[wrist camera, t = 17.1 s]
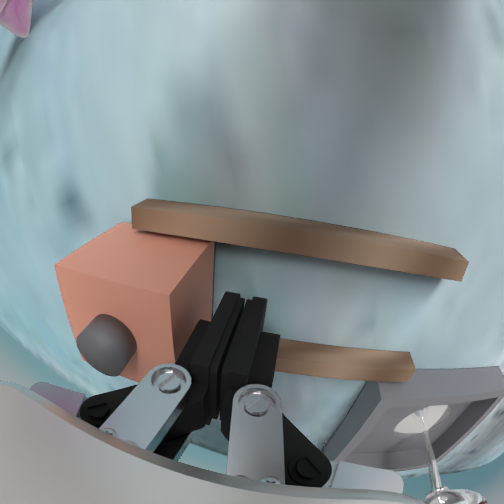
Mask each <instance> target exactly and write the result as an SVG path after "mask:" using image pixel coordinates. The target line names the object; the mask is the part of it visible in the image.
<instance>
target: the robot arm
mask: <svg viewBox="0 0 504 504" xmlns="http://www.w3.org/2000/svg"><path fill="white" fill-rule="evenodd" d="M244 303H245V299H244V298H240V294H237V293H232V292H225V294H224V296H223V298H222V300H221V302H220V304H219V306H218V308H217V310H216V312H215V314H214V316H213V318H212V320H211V321H207V320H202V319H200V320H199V321H198V323H197V325H196V326H195V328H194V330H193V332H192V334H191V335H190V337H189V339H188V341H187V342H186V344H185V346H184V348H183V350H182V351H181V353H180V355H179V357H178V359H177V361H176V362H175V364H161V365H158V366H156V367H154V368H153V369H152V370H150V371H149V373H148V374H147V375H146V376H145V377H144V378H143V379H142V380H141V382H140V383H139V384H137V385H134V386H130V387H126V388H123V389H119V390H115V391H111V392H107V393H103V394H99V395H95V396H92V397H89V398H88V397H86V396H85V394H82V393H79V392H75V391H71V390H68V389H65V388H61V387H58V386H55V385H52V384H49V383H45V382H39V383H36V384H34V385H33V386H32V387H31V388H30V389H28V388H26V387H24V386H21V385H19V384H15V383H12V382H8V381H1V380H0V504H425V503H423V502H422V501H420V500H418V499H415V498H413V497H411V496H407V495H404V494H402V493H403V480H402V478H401V476H400V475H399V474H398V473H396V472H394V471H391V470H386V469H380V468H374V467H368V466H363V465H358V464H353V463H348V462H344V461H339V462H334V461H330V460H328V458H327V457H326V456H325V455H324V454H323V453H322V452H321V451H320V450H319V449H318V448H317V447H316V446H314V445H313V444H312V443H311V442H310V441H309V440H308V439H307V438H306V437H305V436H304V435H303V434H302V433H301V432H300V431H299V430H298V429H297V428H296V427H295V426H294V425H293V424H292V423H291V422H290V421H289V420H288V419H287V418H286V417H285V416H284V414H283V413H282V403H281V399H280V396H279V395H278V394H277V392H276V391H274V390H273V389H272V382H273V377H274V371H275V365H276V359H277V353H278V347H279V341H280V335H278V334H272V333H266V332H262V330H263V324H264V318H265V312H266V305H267V299H265V298H259V297H253V299H252V300H250V299H247V301H246V304H245V307H244ZM219 412H220V420H221V432H222V433H223V435H224V436H225V437H226V439H227V440H228V441H229V448H228V459H227V470H226V475H225V474H221V473H217V472H213V471H209V470H205V469H201V468H198V467H194V466H190V465H187V464H184V463H181V462H178V460H179V459H180V457H181V456H182V454H183V452H184V451H185V449H186V448H187V446H188V444H189V443H190V441H191V440H192V438H193V436H194V435H195V432H196V430H198V429H200V428H203V427H204V426H205V424H207V425H210V422H211V419H212V418H214V419H217V418H218V415H219Z"/></svg>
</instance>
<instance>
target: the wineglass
mask: <svg viewBox="0 0 504 504" xmlns="http://www.w3.org/2000/svg"><path fill="white" fill-rule="evenodd" d="M450 412H451V409H450V407H449V406H448V405H437V406H428V407H426V408H423V409H420V410H418V411H416V412H414V413H412V414H410V415H409V416H407V417H406V418H404V419H403V420H402V421H401V422H400V423H399V424H398V425H397V426H396V427H395V429H394V435H395V436H397V437H399V438H414V437H418V436H421V435H424V441H425V447H426V453H427V460H428V467H429V475H430V484H431V491H430V492H429V493H427V496H426V499H425V500H424V501H423V503H425V504H488V502H487V501H486V500H485V498H484V497H483V496H482V495H481V494H479V493H476V492H473V491H470V490H467V489H458V490H448V487H446V486H443V487H442V485H441V480H440V476H439V472H438V467H437V463H436V460H435V456H434V452H433V448H432V445H431V441H430V438H429V434H428V432H430V431H432V430H434V429H436V428H437V427H438V426H440V425H441V424H442V423H443V422H444V421H445V420H446V419H447V418H448V417H449V415H450Z"/></svg>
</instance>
